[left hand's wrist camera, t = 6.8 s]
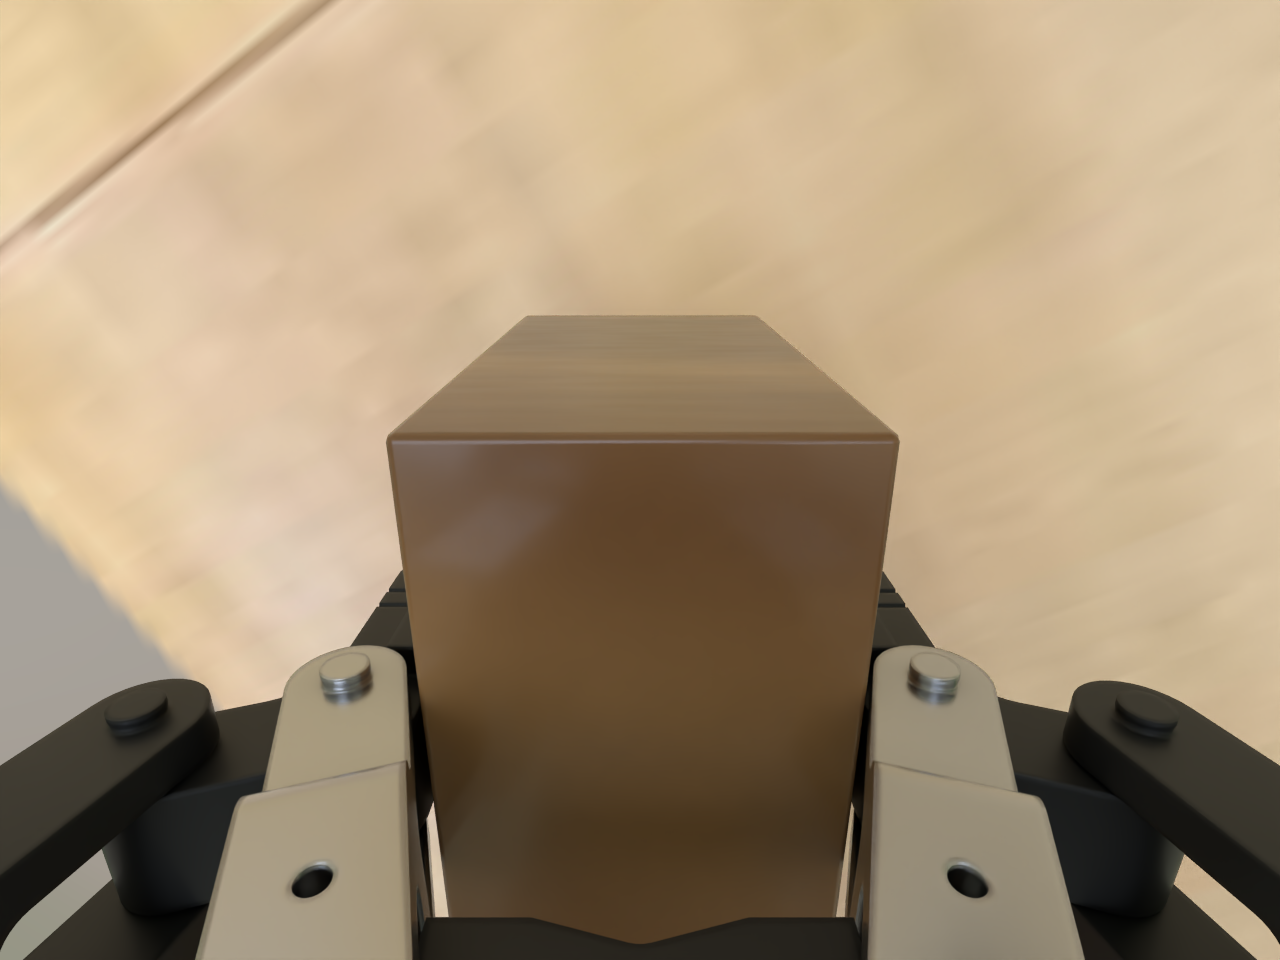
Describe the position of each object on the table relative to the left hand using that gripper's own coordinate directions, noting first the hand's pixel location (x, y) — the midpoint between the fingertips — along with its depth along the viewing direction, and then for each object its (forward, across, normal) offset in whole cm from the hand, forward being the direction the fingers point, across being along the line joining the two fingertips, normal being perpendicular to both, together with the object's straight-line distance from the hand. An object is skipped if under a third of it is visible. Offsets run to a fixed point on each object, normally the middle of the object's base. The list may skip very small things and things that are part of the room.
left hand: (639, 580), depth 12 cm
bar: (+4, 0, +7) cm, 8 cm away
